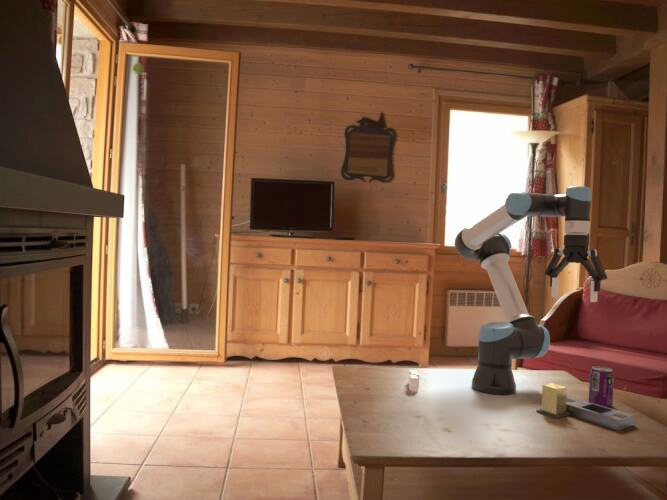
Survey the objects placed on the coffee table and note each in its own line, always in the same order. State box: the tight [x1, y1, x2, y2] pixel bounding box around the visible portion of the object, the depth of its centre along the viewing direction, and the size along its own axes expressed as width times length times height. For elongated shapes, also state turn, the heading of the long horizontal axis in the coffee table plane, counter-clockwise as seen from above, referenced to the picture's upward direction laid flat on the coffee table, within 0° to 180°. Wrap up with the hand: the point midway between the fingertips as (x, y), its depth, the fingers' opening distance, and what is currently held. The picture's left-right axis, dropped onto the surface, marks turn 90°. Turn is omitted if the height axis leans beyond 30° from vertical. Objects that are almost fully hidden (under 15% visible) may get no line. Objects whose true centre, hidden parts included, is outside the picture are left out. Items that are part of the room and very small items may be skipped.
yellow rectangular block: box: [540, 382, 568, 415], centre depth 162 cm, size 5×5×8 cm
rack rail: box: [566, 395, 635, 431], centre depth 160 cm, size 22×9×3 cm, turn 34°
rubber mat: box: [536, 408, 571, 420], centre depth 162 cm, size 7×7×1 cm
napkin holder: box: [408, 369, 420, 393], centre depth 184 cm, size 15×11×6 cm
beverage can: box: [588, 366, 615, 408], centre depth 173 cm, size 7×7×12 cm
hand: (573, 299), depth 170 cm, fingers open, 13 cm apart
